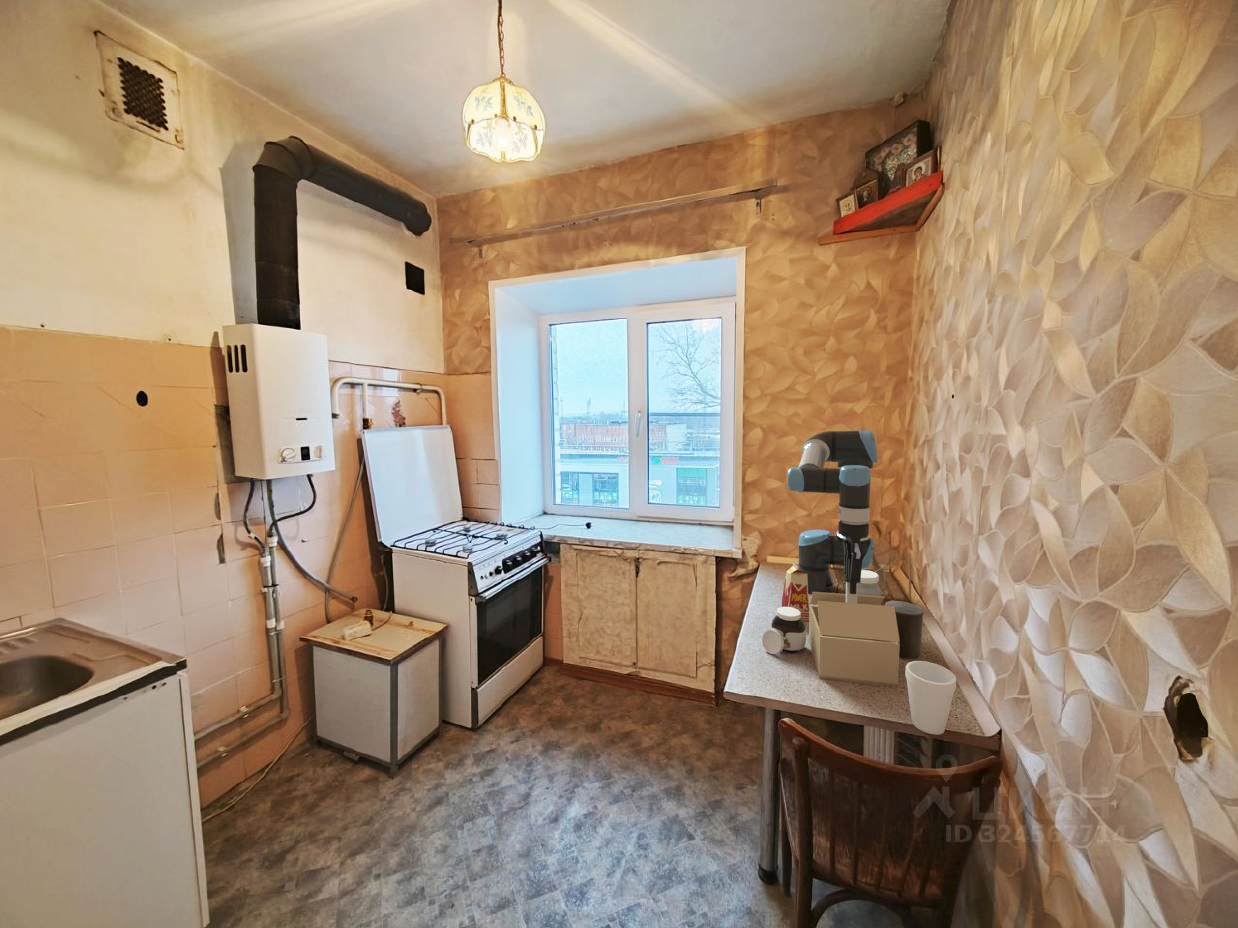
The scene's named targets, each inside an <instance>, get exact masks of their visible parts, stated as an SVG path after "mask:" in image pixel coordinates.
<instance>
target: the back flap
mask: <svg viewBox="0 0 1238 928" xmlns="http://www.w3.org/2000/svg"><path fill="white" fill-rule="evenodd" d="M884 599H885V596H884V595H883V596H882V595H881V596H869V595H858V597H857V604H870V605H881V604H882V603H883V601H884ZM818 601H828V602H842V603H846V593H835V592H831V593H824V592H813V593H811V597H810V599H809V605H812V606H818Z"/></svg>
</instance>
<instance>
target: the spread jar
mask: <svg viewBox="0 0 1238 928" xmlns="http://www.w3.org/2000/svg"><path fill="white" fill-rule="evenodd" d="M761 642H762V643H761V644H762V647H763V648H764V650H765V651H766V652H767V653H769V654H771V655H778V654H780V653H781V652H784V653H787V654H795V653H798V652H801V651H803V649H804V648H805V647H806V643H807V625H805V622H804V621H803V620H802V619H801V612H800V611H799V610H797V609H795V608H792V607H781V606H780V607H778V608H777V609H776V615H775V616H774V617H773V618H772V621H771V628H770V629H768V630H766V631H765V632H764V633H763V634H762V638H761Z"/></svg>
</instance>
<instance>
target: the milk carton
mask: <svg viewBox="0 0 1238 928" xmlns="http://www.w3.org/2000/svg"><path fill="white" fill-rule="evenodd" d="M798 568H799V565H796V564H795V563H794V562H793V563H792V566H791V567H790V568H789V569H788V570H786V572H785V578H784V582H783V588H782V596H781V605H780V607H792V608H795V609H797V610H799V611H800V612H801V619H802V620H803V621H804V622H805V625H806V626H809V605H810V599H809V598H810V596H809V593H808V578H807V573H805V572H803V571H801V570H799V569H798Z"/></svg>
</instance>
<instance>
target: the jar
mask: <svg viewBox="0 0 1238 928" xmlns="http://www.w3.org/2000/svg"><path fill="white" fill-rule="evenodd" d="M879 580H880V575H879V574H878V573H877V572H875V571H872V570H869V569H862V570H861V579H860V583H858V595H869V596H882V595H881V593H882V589H881V587H880V586H879V585H880V584H879Z"/></svg>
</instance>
